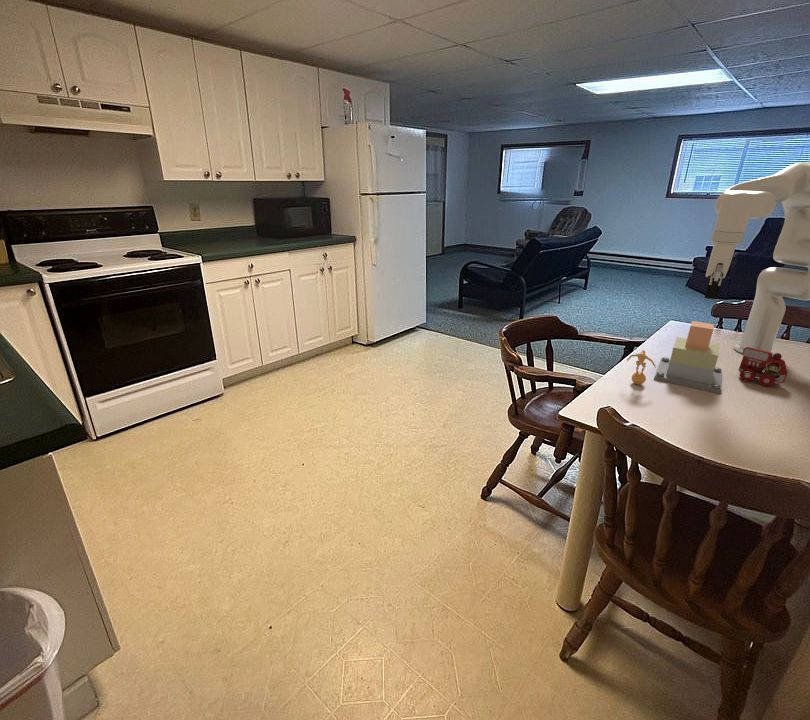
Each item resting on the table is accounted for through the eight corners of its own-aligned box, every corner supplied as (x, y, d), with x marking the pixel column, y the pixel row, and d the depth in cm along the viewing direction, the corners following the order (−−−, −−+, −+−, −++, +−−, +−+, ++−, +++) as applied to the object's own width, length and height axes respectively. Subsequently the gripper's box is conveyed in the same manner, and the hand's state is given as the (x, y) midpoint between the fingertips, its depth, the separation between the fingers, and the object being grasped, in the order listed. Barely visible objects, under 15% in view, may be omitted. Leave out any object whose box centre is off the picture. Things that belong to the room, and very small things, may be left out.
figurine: (653, 385, 138) (662, 350, 133) (647, 392, 134) (656, 355, 129) (625, 378, 143) (633, 343, 138) (619, 384, 139) (627, 348, 134)
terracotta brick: (686, 341, 144) (691, 321, 142) (707, 345, 141) (714, 324, 138) (685, 346, 140) (690, 325, 137) (707, 350, 137) (713, 329, 134)
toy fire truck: (779, 390, 135) (791, 359, 131) (732, 378, 144) (741, 348, 140) (784, 384, 140) (795, 354, 136) (738, 372, 148) (747, 343, 144)
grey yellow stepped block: (660, 361, 156) (667, 332, 152) (720, 373, 147) (730, 343, 143) (653, 379, 142) (661, 348, 138) (720, 393, 133) (730, 361, 129)
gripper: (712, 233, 136) (698, 287, 143) (711, 240, 123) (695, 299, 129) (742, 235, 132) (726, 291, 139) (743, 242, 119) (725, 303, 126)
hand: (711, 295), depth 134 cm, fingers open, 9 cm apart
